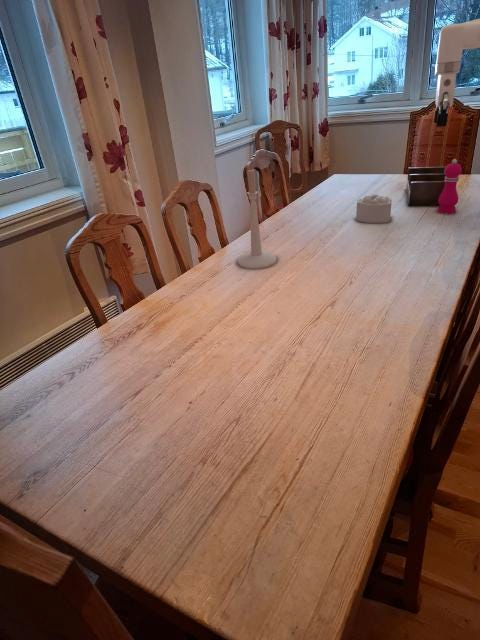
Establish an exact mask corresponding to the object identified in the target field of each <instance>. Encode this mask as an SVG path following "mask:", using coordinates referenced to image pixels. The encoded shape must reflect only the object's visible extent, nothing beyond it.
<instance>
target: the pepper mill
mask: <svg viewBox="0 0 480 640" xmlns="http://www.w3.org/2000/svg"><path fill="white" fill-rule="evenodd" d="M457 162H458V160H457V158H453V159H452V160H451V163H449V164H447V165H446V166H445V167H446V168H445V170H444V173H445V175H446V176H445V188H444V190H443V192H442V193H441V195H440V197H439V199H438V203H439V204H440V206H437V207H438V208H437V212H438V213H439V214H443V215H444V214H445V215H448V214H449V215H450V214H454V213H455V212H456V210H457V207H456V205H457V204H458V203H459V194H458V191H457V183H458V182H459V179H460V175H461V174H462V171H463V168H462V165H461V164H459V163H457Z"/></svg>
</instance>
